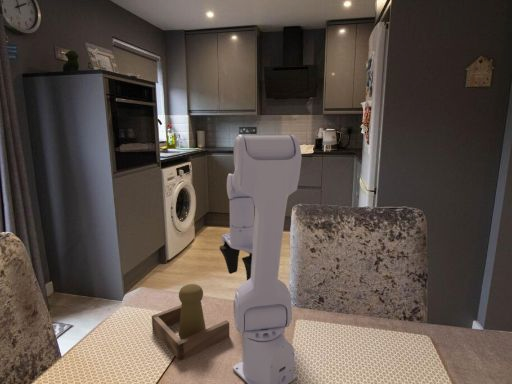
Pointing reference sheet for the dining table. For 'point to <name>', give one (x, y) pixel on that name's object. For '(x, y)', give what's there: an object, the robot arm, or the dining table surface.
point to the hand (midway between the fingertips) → (242, 277)
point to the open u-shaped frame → (190, 343)
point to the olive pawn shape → (191, 311)
